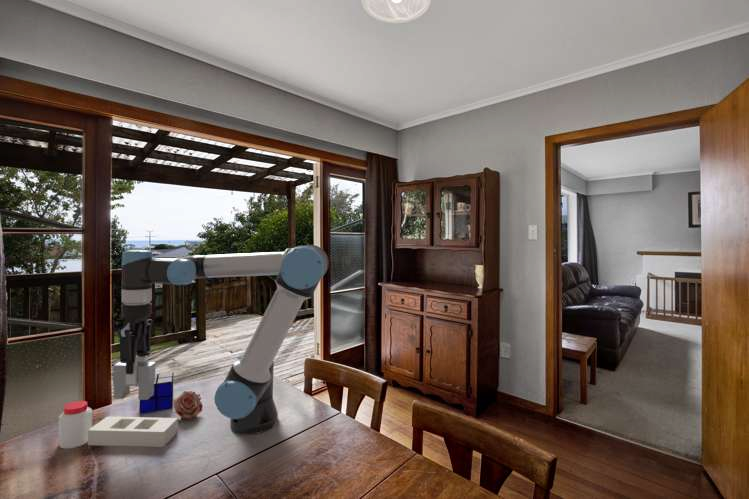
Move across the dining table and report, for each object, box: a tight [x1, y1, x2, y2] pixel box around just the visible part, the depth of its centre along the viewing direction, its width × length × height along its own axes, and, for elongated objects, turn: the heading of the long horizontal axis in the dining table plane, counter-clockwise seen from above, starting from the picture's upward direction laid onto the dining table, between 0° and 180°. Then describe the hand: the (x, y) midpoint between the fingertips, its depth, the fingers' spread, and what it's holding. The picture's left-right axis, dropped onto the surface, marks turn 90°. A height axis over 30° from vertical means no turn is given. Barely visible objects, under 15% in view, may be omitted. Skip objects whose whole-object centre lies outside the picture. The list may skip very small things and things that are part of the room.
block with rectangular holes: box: [87, 416, 179, 448], centre depth 112 cm, size 22×8×4 cm, turn 91°
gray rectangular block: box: [112, 361, 156, 401], centre depth 109 cm, size 10×4×10 cm, turn 93°
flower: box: [170, 390, 203, 421], centre depth 125 cm, size 10×9×8 cm
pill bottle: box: [58, 400, 93, 449], centre depth 109 cm, size 8×8×11 cm
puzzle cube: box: [139, 371, 174, 415], centre depth 132 cm, size 10×10×10 cm
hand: (135, 380), depth 109 cm, fingers closed on gray rectangular block, 3 cm apart
